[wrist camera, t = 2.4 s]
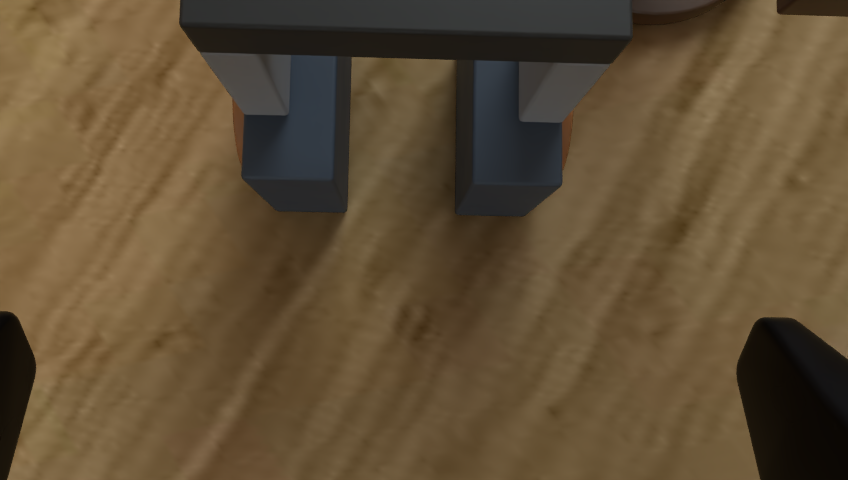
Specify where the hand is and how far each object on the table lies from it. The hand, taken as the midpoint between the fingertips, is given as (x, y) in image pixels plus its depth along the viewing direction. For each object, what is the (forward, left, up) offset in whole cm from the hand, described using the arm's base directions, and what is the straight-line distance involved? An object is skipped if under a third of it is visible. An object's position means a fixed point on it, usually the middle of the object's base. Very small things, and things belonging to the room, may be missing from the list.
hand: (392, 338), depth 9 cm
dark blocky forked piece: (+5, -3, -12) cm, 13 cm away
